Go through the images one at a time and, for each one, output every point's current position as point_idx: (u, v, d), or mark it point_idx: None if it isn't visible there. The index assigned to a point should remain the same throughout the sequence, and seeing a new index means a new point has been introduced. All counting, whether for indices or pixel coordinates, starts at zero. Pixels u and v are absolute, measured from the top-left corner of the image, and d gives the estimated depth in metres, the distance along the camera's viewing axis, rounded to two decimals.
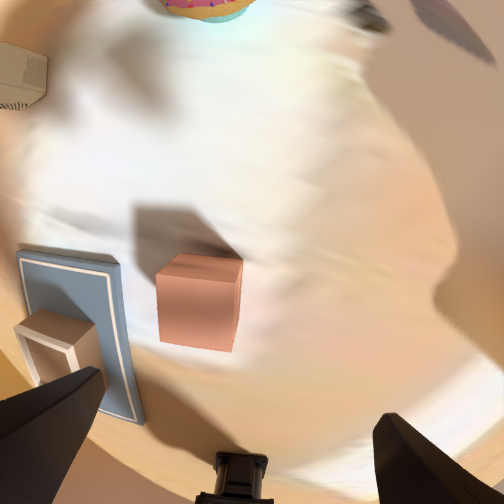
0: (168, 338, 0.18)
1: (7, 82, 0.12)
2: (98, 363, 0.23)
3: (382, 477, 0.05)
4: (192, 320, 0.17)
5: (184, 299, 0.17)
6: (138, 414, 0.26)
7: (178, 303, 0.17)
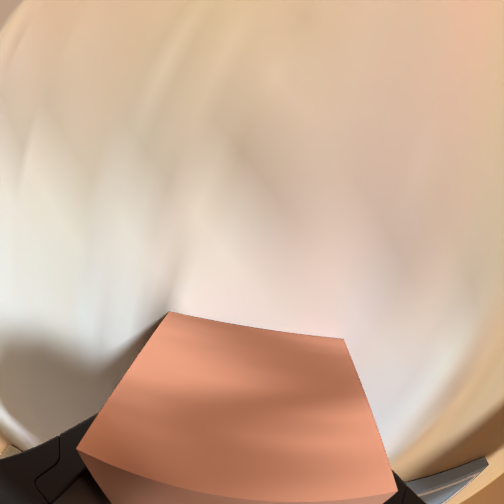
0: None
1: None
2: None
3: None
4: None
5: None
6: (471, 473, 0.09)
7: None
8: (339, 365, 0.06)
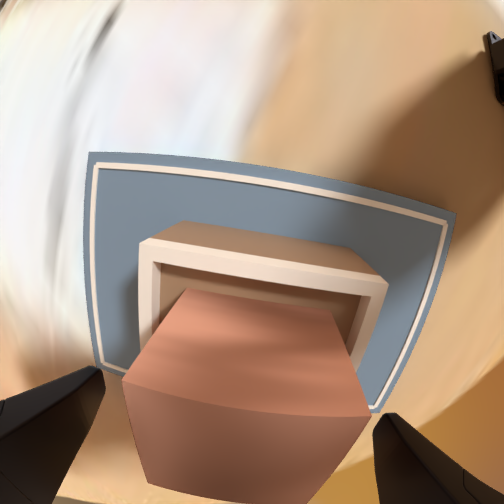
0: (298, 499, 0.06)
1: None
2: (270, 238, 0.12)
3: (382, 477, 0.05)
4: (250, 472, 0.05)
5: (191, 471, 0.05)
6: (428, 208, 0.12)
7: (204, 479, 0.05)
8: (325, 327, 0.08)
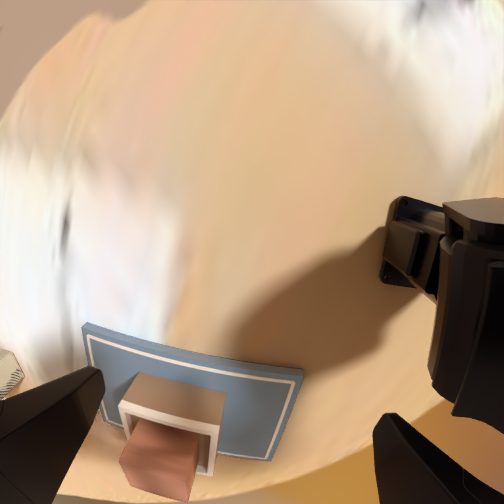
0: (182, 499, 0.14)
1: None
2: (179, 390, 0.21)
3: (382, 477, 0.05)
4: (160, 486, 0.14)
5: (143, 483, 0.14)
6: (278, 375, 0.21)
7: (147, 486, 0.14)
8: (190, 443, 0.17)
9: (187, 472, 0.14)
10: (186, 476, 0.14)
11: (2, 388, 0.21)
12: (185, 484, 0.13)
